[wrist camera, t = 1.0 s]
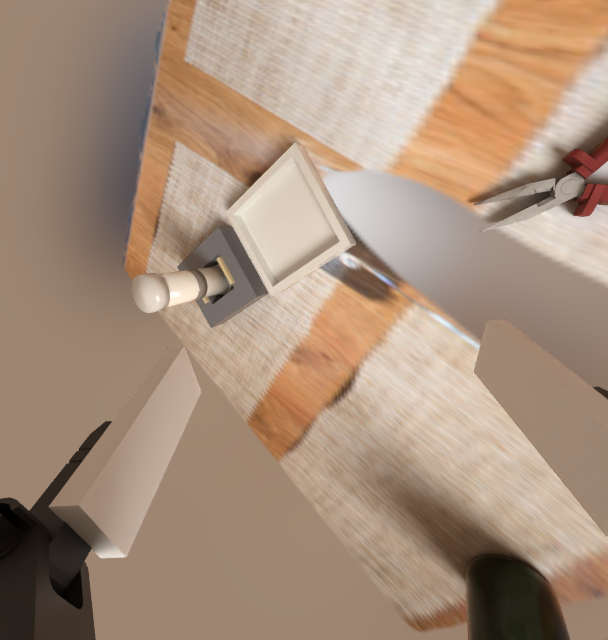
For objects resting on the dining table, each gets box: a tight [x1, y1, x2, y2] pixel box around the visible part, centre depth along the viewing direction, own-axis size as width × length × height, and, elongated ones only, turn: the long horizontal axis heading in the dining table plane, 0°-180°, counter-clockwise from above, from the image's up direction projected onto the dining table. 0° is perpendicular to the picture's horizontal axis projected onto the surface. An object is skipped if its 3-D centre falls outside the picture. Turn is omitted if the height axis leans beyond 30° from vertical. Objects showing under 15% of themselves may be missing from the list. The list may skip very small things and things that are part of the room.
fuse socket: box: [178, 226, 268, 328], centre depth 46 cm, size 12×12×4 cm
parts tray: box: [225, 142, 357, 296], centre depth 38 cm, size 14×14×2 cm
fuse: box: [132, 265, 234, 313], centre depth 41 cm, size 5×5×15 cm
